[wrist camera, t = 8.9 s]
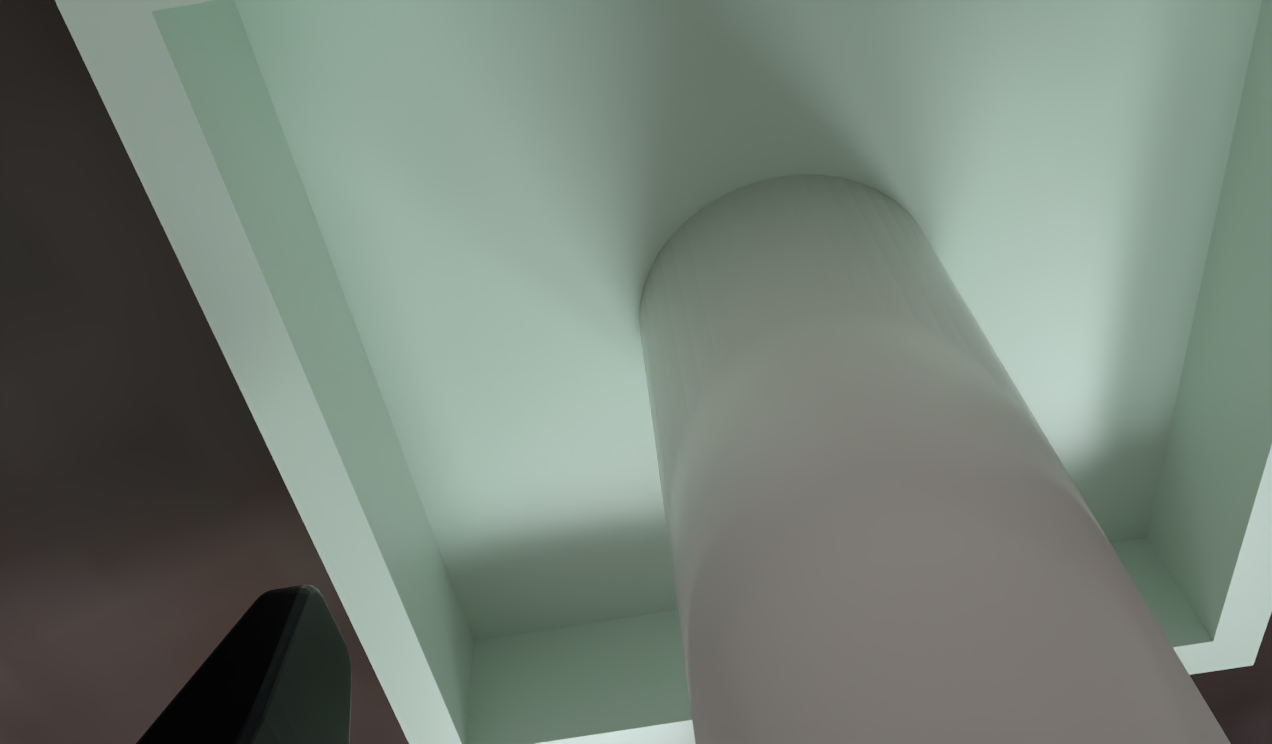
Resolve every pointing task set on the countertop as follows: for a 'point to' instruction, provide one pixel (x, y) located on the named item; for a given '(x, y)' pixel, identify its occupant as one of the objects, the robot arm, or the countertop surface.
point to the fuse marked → (876, 500)
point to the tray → (623, 255)
